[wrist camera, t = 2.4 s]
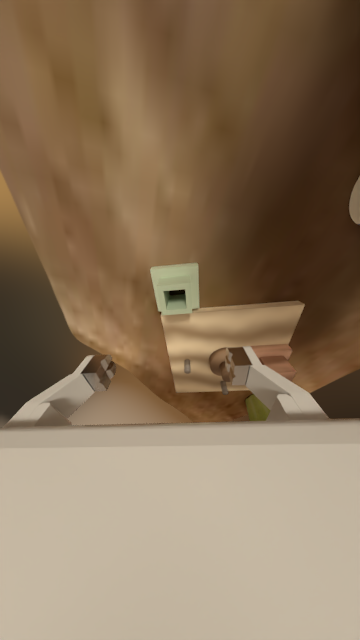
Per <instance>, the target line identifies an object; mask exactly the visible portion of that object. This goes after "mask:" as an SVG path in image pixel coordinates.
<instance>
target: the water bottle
mask: <svg viewBox="0 0 360 640" xmlns="http://www.w3.org/2000/svg"><path fill="white" fill-rule="evenodd" d="M349 213H350V216H351V218H352V220H353V221H354V222H355V223H356V224H358V225H360V176H359V178H358V180H357V182H356V184H355V185H354V188H353V191H352V194H351V197H350V202H349Z"/></svg>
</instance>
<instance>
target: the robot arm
mask: <svg viewBox="0 0 360 640" xmlns="http://www.w3.org/2000/svg"><path fill="white" fill-rule="evenodd" d="M226 354H227V355H226V356H225V365H226V369H227V371H228V372H229V378H230V381H231V384H232V385H246V387H247V388H248V389H249V390H250V391H251V392H252V393H253V394H254V395H255V396H256V397H257V398H258V399H259V400H260V401H261V402H262V403H263V404H264V405H265V406H266V407H267V408H268V409H269V410H270V413H269V415H268V417H267V419H266V421H241V422H239V421H238V422H195V423H153V424H115V425H114V424H112V425H72V424H71V422H70V421H69V420H68V419H67V418H68V417H69V416H70V415H71V414H73V413H74V411H76V410H77V409H78V408H79V407H80V406H81V405H82V404H83V403H84V402H85V401H86V400H87V399H88V398H89V397H90V396H91V395H92V394H93V393H94V391H106V390H107V389H108V387H109V385H110V383H111V380H110V379H111V378H112V377H113V376H114V375H115V372H116V365H115V363H114V362H113V361H111V360H112V357H111V355H89V356H87V357H86V358H85V359H84V360H83V362H82V363H81V364H80V366H79V367H78V368H77V369H76V370H75V372H74V373H73V374H72V375H69V376H67V377H65V378H64V379H62V380H61V381H60V382H58V383H56V384H55V385H53V386H51V387H50V388H48V389H47V390H46V391H44V392H42V393H41V394H39V395H38V396H36V397H34V398H33V399H31V400H30V401H28V402H27V403H26V404H25V405H24V406H23V407H22V408H21V409H20V410H19V411H18V412H17V413H16V414H15V415H14V417H13V418H12V419H11V420H10V421H9V422H8V423H7V424H6V425H5V426H4V427H0V640H360V418H359V419H329V418H328V416H327V415H326V414H325V413H324V411H323V410H322V409H321V408H320V406H319V405H318V404H317V403H316V401H315V400H314V399H313V398H312V396H311V395H310V394H309V393H308V392H307V391H305V390H304V389H302V388H300V387H299V386H297V385H296V384H294V383H293V382H291V381H289V380H288V379H286V378H285V377H283V376H281V375H280V374H278V373H277V372H275V371H274V370H272V369H270V368H269V367H267V366H266V365H262V364H261V362H260V361H259V359H258V357H257V356H256V354H255V352H254V351H253V349H252V348H251V347H250V346H242V347H228V348H226Z"/></svg>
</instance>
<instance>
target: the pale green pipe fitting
mask: <svg viewBox="0 0 360 640" xmlns="http://www.w3.org/2000/svg"><path fill="white" fill-rule="evenodd" d="M150 272H151V277H152V282H153V287H154V291H155V296H156V301H157V306H158V311H161V312H162V315H174V314H187V313H192V309H198V308H199V275H198V263H188V264H178V265H167V266H157V267H152V268H151V269H150ZM182 289H185V294H180V295H170V294H169V291H171V290H182Z"/></svg>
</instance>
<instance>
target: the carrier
mask: <svg viewBox="0 0 360 640" xmlns="http://www.w3.org/2000/svg"><path fill="white" fill-rule="evenodd" d="M304 306H305V304H303V303H301V302H300V301H286V302H273V303H260V304H247V305H234V306H221V307H208V308H198V309H192V313H187V314H174V315H162V313H161V319H162V324H163V329H164V334H165V339H166V344H167V349H168V354H169V360H170V365H171V370H172V375H173V380H174V385H175V390H176V393H184V392H212V391H222V393H223V394H224V395H226V394H228V391H239V390H249V389H248V388H247V387H246V385H232V384H231V381H230V378H229V372H228V371H227V369H226V365H225V356H226V355H227V354H226V348H228V347H242V346H250V347H251V348H252V349H253V351H254V352H255V354H256V356H257V357H258V359H259V361H260V362H261V364H262V365H266V366H267V367H269V368H270V369H272V370H274V371H275V372H277V373H278V374H280V375H281V376H283V377H285V378H286V379H288V380H289V381H291V382H292V380H293V378H294V376H295V374H296V371H295V369H294V368H293V367H292V366H291V364H290V363H289V362H288V360H289V358H290V355H291V353H292V351H293V350H292V349H291V348H290V347H289V345H288V344H289V342H290V339H291V337H292V335H293V332H294V330H295V328H296V325H297V323H298V320H299V318H300V316H301V313H302V311H303V308H304Z"/></svg>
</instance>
